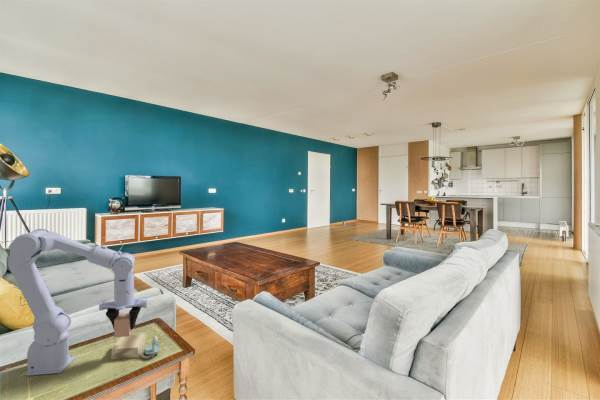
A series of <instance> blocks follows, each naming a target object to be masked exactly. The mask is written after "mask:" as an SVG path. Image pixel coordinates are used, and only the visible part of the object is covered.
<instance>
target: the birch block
mask: <svg viewBox="0 0 600 400" xmlns="http://www.w3.org/2000/svg"><path fill="white" fill-rule="evenodd" d="M145 345H146V334H135V335H130V336H127V337H119V338H118V340H117V341H116V343H115V344H114V346H113V347H112V348H111V360H120V359H133V358H138V357H139V356H140V355H141V352H142V351H143V350H144V347H145Z"/></svg>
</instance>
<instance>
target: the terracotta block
mask: <svg viewBox="0 0 600 400" xmlns="http://www.w3.org/2000/svg"><path fill="white" fill-rule="evenodd" d="M113 331H114V332H113V333H114V338H120V337H127V336H132V335H131V334H133V332H134V331H135V328H134V329H132V330H131V328H130V315H129V312H128V313H127V312H126V313H125V312H124V313H119V315H118V316H117V317H116V319H115V320H114V329H113Z"/></svg>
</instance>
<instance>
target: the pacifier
mask: <svg viewBox="0 0 600 400" xmlns="http://www.w3.org/2000/svg"><path fill="white" fill-rule="evenodd" d="M158 340H159V338H158V336H157V335H155V334H154V336H153V338H152V341H151V342H149V343H148V344H147V345H146V347H145V348H143V349H142V351H141V352H140V356H141V358H142V359H145V360H147V359H150V358H152V357H154V356H156V355H157V354H158V353H160V352H161V350H160V348H161V343H160V342H159V341H158Z"/></svg>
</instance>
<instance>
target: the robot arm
mask: <svg viewBox="0 0 600 400" xmlns="http://www.w3.org/2000/svg"><path fill="white" fill-rule="evenodd" d="M8 248H9V250H10V251H9V256H8V261H7V266H8V268H9V270H10V272H11V274H12V276H13V278H14V280H15V282H16V284H17V286H18V289H19V290H20V292H21V294H22V295H23V298H24V300H25V302H26V303H27V305H28V308H29V310H30V311H31V313H32V315H33V316H34V318H33V322H32V329H33V331H34V335H33V340H34V341H33V342H31V344H30V345H29V346H28V350H27V354H26V356H27V357H26V359H27V360H26V362H27V365H26V366H27V372H26V374H25V376H28V377H29V376H38V375H51V374H60V373H62V372H63V371H64V370H66V368H67V367H68V366H69V365H70V364H71V362H72V361H73V360H74V359H75V358H76V356H75V355H70V352H69V350H70V346H69V332H68V328H69V327H70V325H71V323H72V318H71V316H70V315H69V314H67V313H65V311H64V310H63V308H62V307H59V306H57V305H56V303H55V301H54V300H53V298H52V296H51V294H50V291H49V290H48V287H47V286H46V284H45V282H44V279H43V277H42V275H41V274H40V272H39V270H38V268H37V265H36V263H35V262H36V261H37V259H38V257H39V256H40V254H41V253H43V252H48V251H49V252H50V251H53V250H58V251H63V252H67V253H70V254H73V255H77V256H82V257H85V258H86V259H87V261H88V263H90V264H92V265H97V266H100V267H103V268H107V269H111V271H112V272H113V273H114V278H113V290H114V291H113V293H114V294H113V295H114V296H113V297H114V300H111V301H105V302H104V301H103V302H101V303H100V304H99V305H98V310H99V311H104V310H106V312H105V316H106V317H107V318H108V320H109V321H110V323H111V325H112V328H113V330H114V320H115V319H116V317H117V316H118V315H119V314H120V310H121V311H122V310H124V309H130V310H129V312H128V313H129V315H130V328H131V330H132V329H134V330H135V327H136V322H137V319H138V317H139V314H140V311H141V309H142V308H143V309H147V308H148V307H149V300H148V299H145V300H144V299H135V275H134V265H136V264H135V263H136V259H135V256H134V255H133V254H132V253H129V252H122V251H120V250H118V251H116V250H113V249H111V248H108V246H107V245H104V244H103V245H95V246H93V247H92V246H90V245H87V244H85V243H82V242H81V241H77V240H74V239H72V238H70V237H66V236H64V235H62V234H60V233H58V232H56V231H50V230H48V229H45V228H37V229H34V230H32V231H30V232H27V233H23V234H20V235H18V236H17V237H15V238H14V239H13V240H12V242H11V243H10V244H9V246H8Z"/></svg>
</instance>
